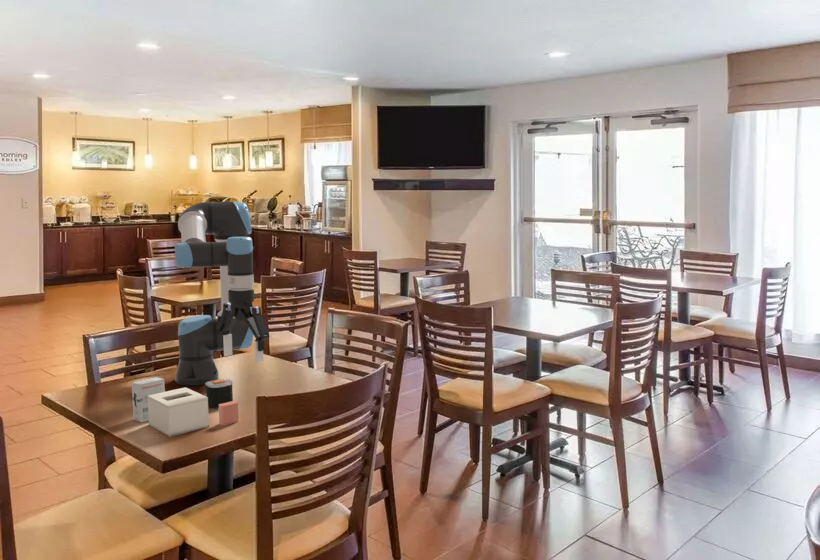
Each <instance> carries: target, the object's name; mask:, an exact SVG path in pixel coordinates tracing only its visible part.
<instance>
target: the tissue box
mask: <svg viewBox="0 0 820 560" xmlns="http://www.w3.org/2000/svg"><path fill="white" fill-rule="evenodd" d="M147 399H148V418H149V421H148V425H149V426H150V427H152V428H154V429H156V430H157V431H159V432H161V433H162V434H165V436H167V437H169V438H171V437H175V436H179V435H183V434H186V433H191V432H193V431H194V432H195V431H197V430H202V429H205V428H209V427H210V424H209V422H210V419H209V407H208V397H206V395H204V394H202V393H199V392H197V391H196V390H195V391H194V390H192V389H191V388H188V387H181V388H176V389H171V390H168V391H166V390H165V392H161V393H157V394H152V395H147Z"/></svg>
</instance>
